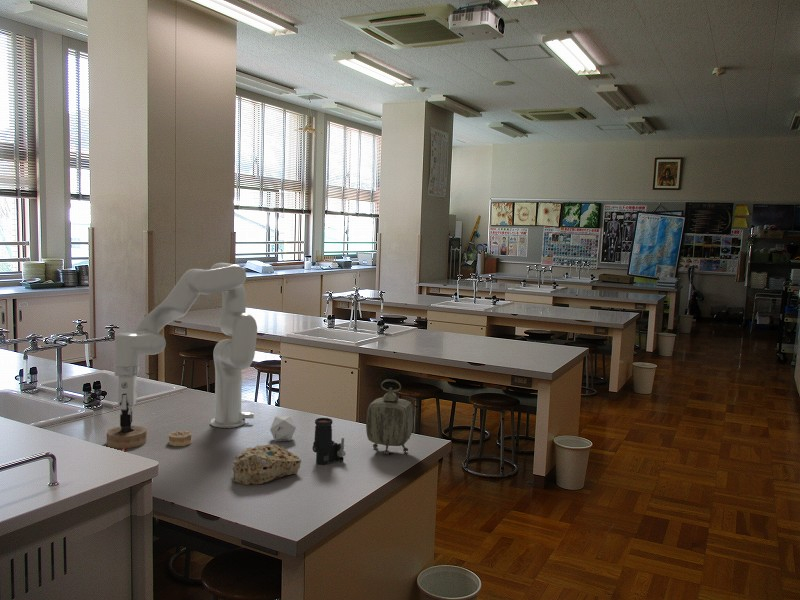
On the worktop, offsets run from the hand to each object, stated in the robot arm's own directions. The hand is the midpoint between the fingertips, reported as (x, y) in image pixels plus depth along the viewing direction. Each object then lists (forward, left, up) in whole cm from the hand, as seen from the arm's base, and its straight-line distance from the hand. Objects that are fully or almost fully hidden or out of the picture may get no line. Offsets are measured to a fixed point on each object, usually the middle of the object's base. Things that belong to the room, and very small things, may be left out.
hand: (126, 424), depth 215 cm
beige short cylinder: (-17, +3, -6) cm, 19 cm away
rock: (-43, +37, -7) cm, 57 cm away
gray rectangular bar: (0, 0, -3) cm, 3 cm away
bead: (0, 0, -6) cm, 6 cm away
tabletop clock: (-84, +24, -7) cm, 88 cm away
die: (-51, +5, -7) cm, 52 cm away
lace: (0, +10, -6) cm, 12 cm away
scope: (-62, +29, -7) cm, 69 cm away
